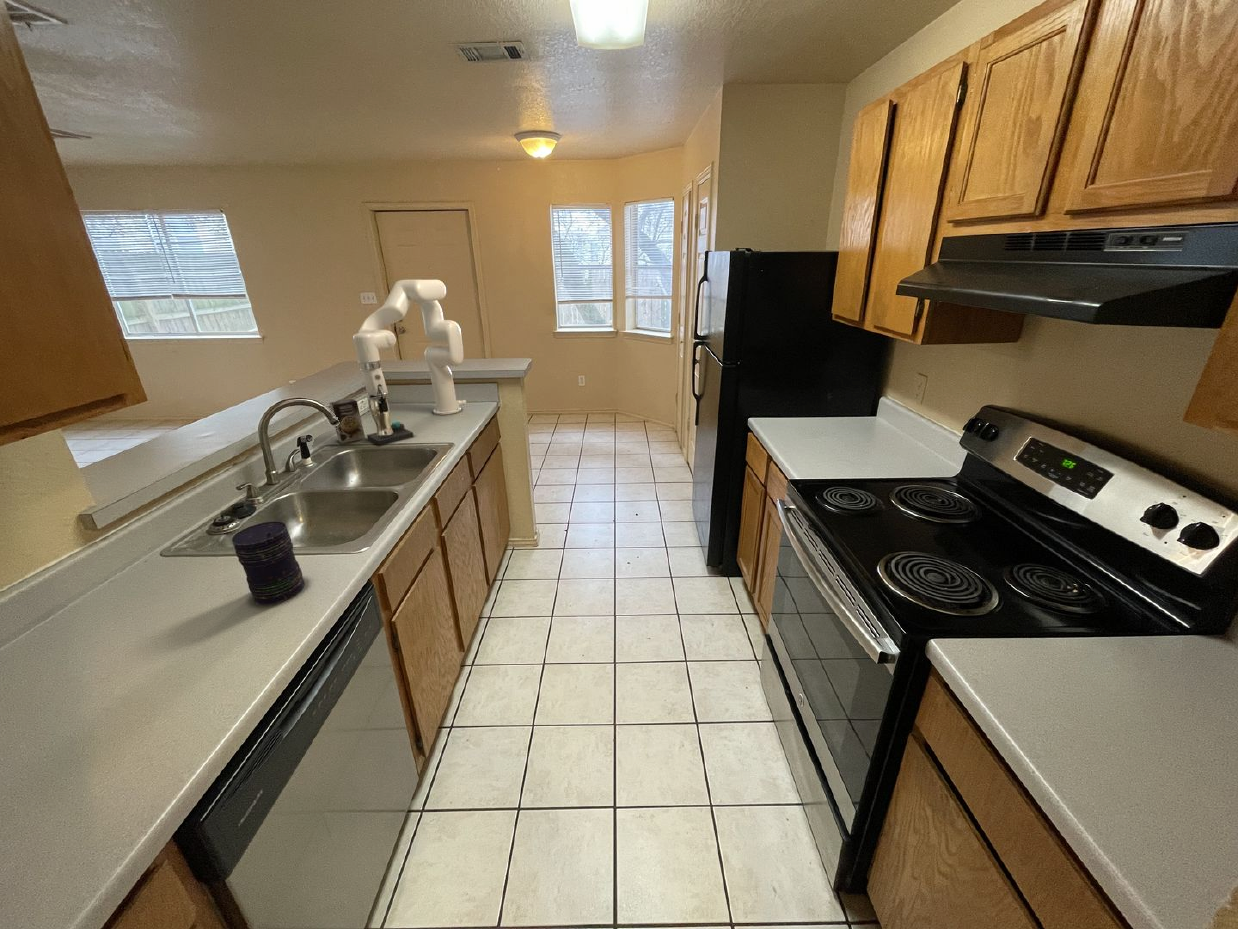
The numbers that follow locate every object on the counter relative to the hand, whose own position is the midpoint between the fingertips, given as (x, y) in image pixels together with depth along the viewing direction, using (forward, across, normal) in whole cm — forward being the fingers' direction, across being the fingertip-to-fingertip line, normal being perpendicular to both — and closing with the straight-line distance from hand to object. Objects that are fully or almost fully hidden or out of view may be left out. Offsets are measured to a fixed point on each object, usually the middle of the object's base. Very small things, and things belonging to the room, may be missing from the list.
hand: (380, 410), depth 201 cm
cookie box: (+13, +13, +9) cm, 21 cm away
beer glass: (+10, 0, 0) cm, 10 cm away
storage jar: (+13, -85, +59) cm, 104 cm away
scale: (+13, +2, -2) cm, 13 cm away
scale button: (+10, +5, -7) cm, 13 cm away
